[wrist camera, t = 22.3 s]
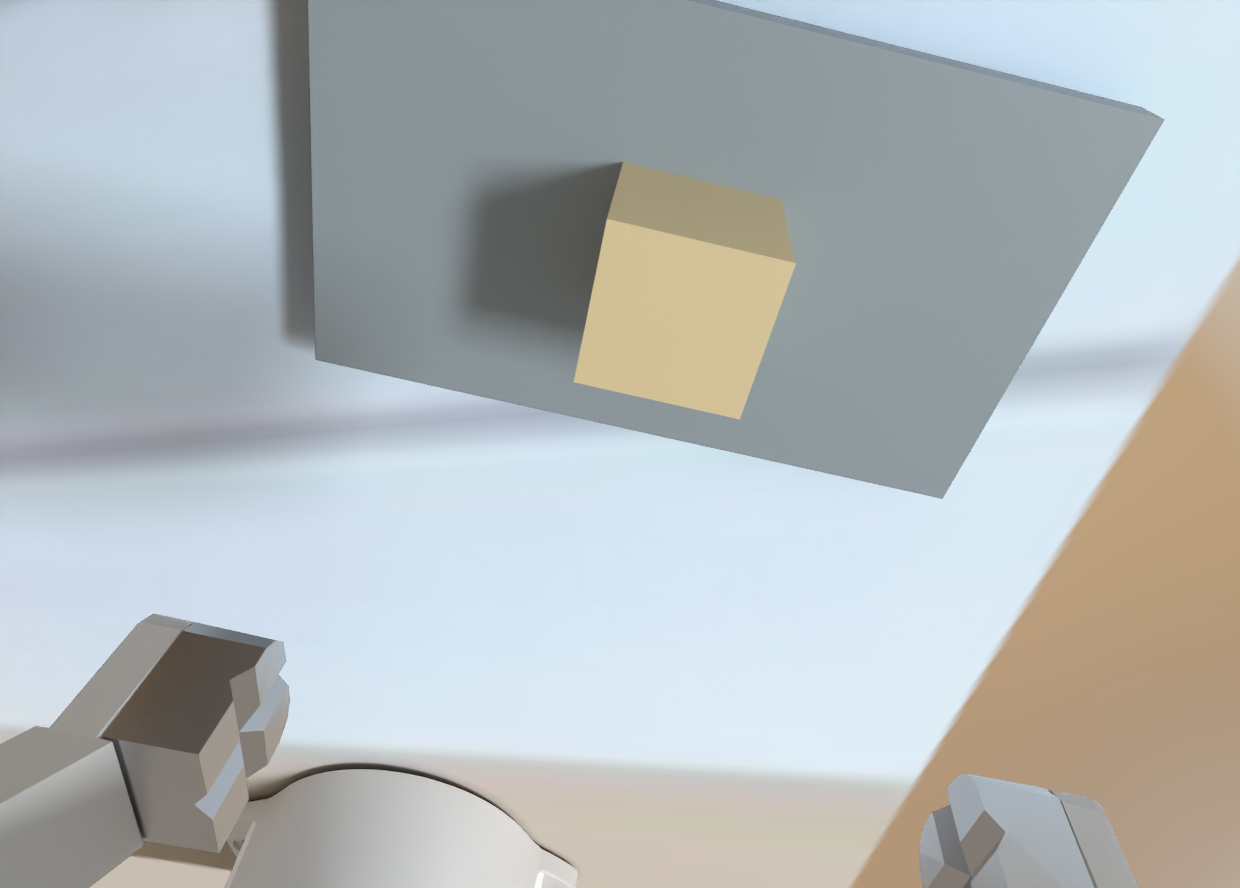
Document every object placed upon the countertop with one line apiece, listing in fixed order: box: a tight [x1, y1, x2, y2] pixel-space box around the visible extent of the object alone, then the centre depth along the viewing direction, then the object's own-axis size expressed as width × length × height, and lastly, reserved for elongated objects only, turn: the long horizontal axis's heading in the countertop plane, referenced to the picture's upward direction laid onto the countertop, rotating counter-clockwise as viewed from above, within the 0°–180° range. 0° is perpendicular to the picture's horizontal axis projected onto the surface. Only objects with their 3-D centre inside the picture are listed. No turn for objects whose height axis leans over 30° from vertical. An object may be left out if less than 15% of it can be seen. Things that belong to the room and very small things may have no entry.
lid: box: [308, 0, 1164, 499], centre depth 20 cm, size 11×19×6 cm, turn 78°
